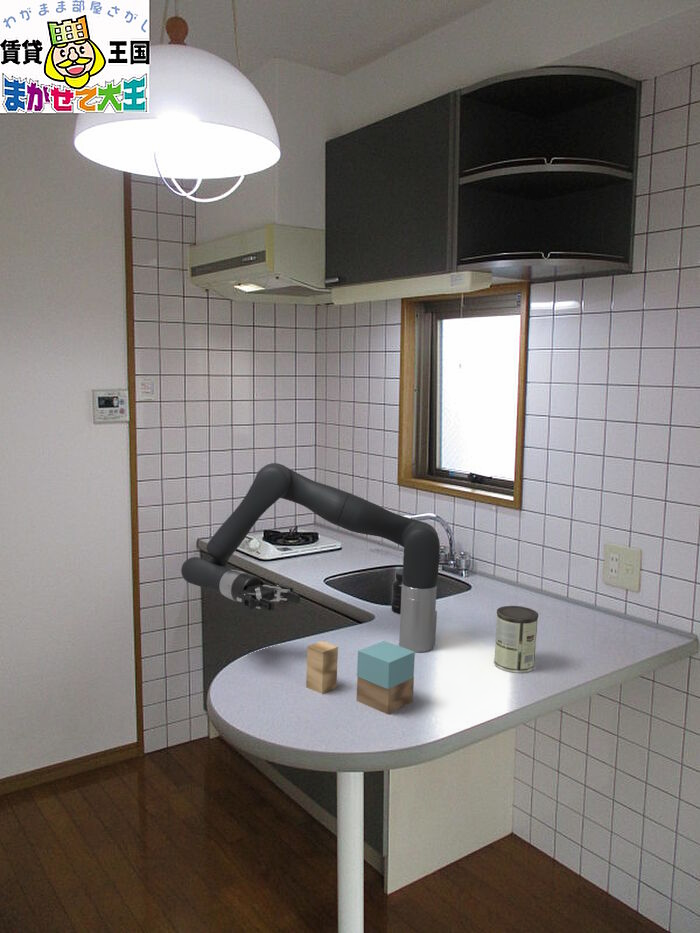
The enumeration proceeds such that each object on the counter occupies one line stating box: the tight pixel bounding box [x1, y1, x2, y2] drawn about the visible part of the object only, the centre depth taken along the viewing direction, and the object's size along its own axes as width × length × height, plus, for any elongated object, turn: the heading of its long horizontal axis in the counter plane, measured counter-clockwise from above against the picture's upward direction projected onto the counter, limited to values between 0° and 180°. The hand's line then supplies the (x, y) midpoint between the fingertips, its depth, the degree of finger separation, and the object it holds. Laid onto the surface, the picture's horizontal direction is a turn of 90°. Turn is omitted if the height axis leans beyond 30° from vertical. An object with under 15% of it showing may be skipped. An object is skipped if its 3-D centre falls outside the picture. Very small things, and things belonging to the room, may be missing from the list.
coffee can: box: [493, 605, 539, 674], centre depth 198 cm, size 10×10×14 cm
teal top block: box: [356, 640, 416, 689], centre depth 174 cm, size 9×9×6 cm
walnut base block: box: [356, 676, 415, 715], centre depth 175 cm, size 9×9×6 cm
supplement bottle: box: [391, 570, 403, 615], centre depth 236 cm, size 7×7×12 cm
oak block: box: [305, 640, 339, 695], centre depth 181 cm, size 5×5×10 cm
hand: (286, 603), depth 187 cm, fingers open, 8 cm apart
